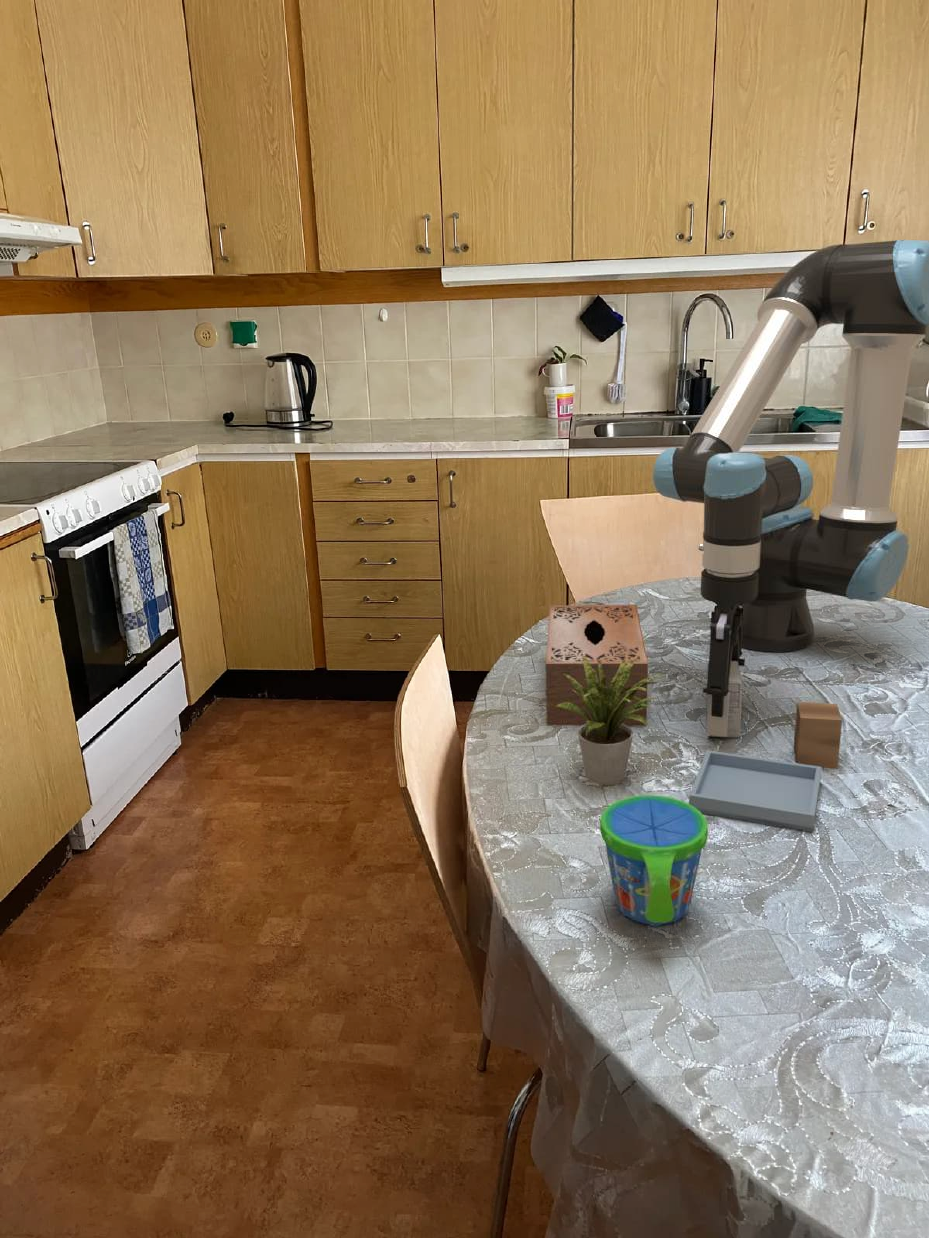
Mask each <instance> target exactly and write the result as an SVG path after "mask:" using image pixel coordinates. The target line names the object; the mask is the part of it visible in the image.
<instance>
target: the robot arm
mask: <svg viewBox="0 0 929 1238" xmlns="http://www.w3.org/2000/svg"><path fill="white" fill-rule="evenodd" d="M756 314H757V316H756V317H757V321H758V322H757V323H756V325H755V327H754V329H753V330H752V332H751V333H750V335H749V337H748V338H747V340H746V342H745V344H744V345H743V347H742V348H741V350H740V351H739V354H738V355H737V357H736V358H735V360H734V362H733V364H732V365H731V367H730V368H729V370H728V372H727V374H726V375H725V377H724V379H722V382H721V384H720V385H719V387H718V389H717V390H716V392H715V393H714V396H713V398H712V399H711V400H710V402H709V404H708V405H707V407H706V408H705V411H704V412H703V413H702V415H701V416H700V419H699V421H698V422H697V423H696V425H695V427H694V428H693V431H692V432H691V434H690V435H689V437H688V438H687V440H686V441H685V443H684V445H683V446H682V448H681V447H670V448H669V447H668V448H666V449H665V450H663V451H662V452H661V453H660V454H658V456H657V458H656V460H655V462H654V466H653V469H652V470H653V471H652V481H653V486H654V487H655V489H656V491H657V493H659V494H660V495H661V497H666V498H668V499H672V500H677V501H680V502H684V503H685V502H692V503H698V504H699V503H700V504H703V533H702V543H699V544H698V546H697V549H698V550H699V551H701V552H703V554H702V557H701V559H702V560H701V561H702V562H701V563H702V564H701V566H702V567H703V568H704V569H702V571H701V572H700V595H701V598H703V599H704V600H705V601H708V602H712V603H714V604H715V606H714V607H713V611H711V615H710V626H709V629H710V635H709V636H710V638H709V639H710V641H709V653H708V656H709V657H708V661H709V665H708V664H707V669H708V678H707V677H706V688H705V687H703V688H702V693H703V694H704V693H705V694H706V695H707V694H709V695H708V717H707V716H706V722H707V723H706V735H707V736H708V735H714V736H722V737H721V738H728V737H727V733H728V714H729V695H730V692H729V689H728V686H729V676H730V667H731V661H737V662H738V663H739V667H745V666H746V665H745V663H746V659H745V658H742V655H743V651H742V650H743V649H742V648H744V649H748V650H753V651H761V652H773V653H775V652H776V653H779V652H780V653H782V652H791V651H793V652H794V651H798V650H801V649H804V648H807V647H809V646H810V645H811V644H813V642H814V637H815V636H814V635H815V626H814V623H813V617H812V614H811V610H810V607H809V603H808V600H807V599H808V598H807V590H809V591H815V592H818V593H819V592H820V593H824V594H829V595H833V596H837V597H838V596H839V597H842V598H843V597H844V598H846V599H847V600H848V599H849V600H850V601H851V600H852V601H853V600H860V601H864V602H865V601H867V602H877V601H878V600H881V599H883V598H884V597H886V596H887V595H889V593H890V592H891V591H892V589H893V588H894V587H895V586H896V584H897V582H898V580H900V579H899V578H900V577H901V575H902V573H903V570H904V567H905V565H906V561H907V558H908V553H909V544H908V541H909V539H908V536H907V535H906V534H905V533H903V532H902V530H901V531H900V530H898V529H897V527H898V521H899V520H898V516H897V515H896V514H895V512H893V510H892V509H891V507H890V503H891V502H890V501H891V495H892V488H893V482H894V475H895V469H896V467H895V466H896V461H897V455H898V447H899V441H900V434H901V427H902V420H903V412H904V408H905V407H904V406H905V400H906V394H907V393H906V392H907V386H908V380H909V372H910V367H911V358H912V352H913V348H914V347H915V346H916V345H918V343H920V342H921V341H922V340H924V339H925V338H926V332H927V326H928V325H929V240H922V239H921V240H917V239H913V240H912V239H898V240H887V241H875V242H863V243H853V244H852V243H850V244H845V243H840V244H833V245H829V246H826V247H823V248H820V249H819V250H817V251H814V252H812V253H811V254H808V256H806V257H804V258H803V259H801V260H800V261H798V262H797V264H795V265H794V266H792V267H791V268H790V269H788V271H787V272H785V274H783V275H782V277H781V278H779V280H778V281H777V282H776V283H775V284H774V285H773V287H771V289H770V291H768V293H767V294H766V296H765V298H764V299H763V301H762V302H761V304H760V305H759V307H758V310H757V313H756ZM831 324H832V325H843V326H842V334H841V336H842V338H843V339H844V340H845V341H846V343H847V344H848V345H849V347H850V353H849V361H848V370H847V377H846V383H845V392H844V401H843V408H842V415H841V423H840V431H839V439H838V445H837V453H836V461H835V468H834V475H833V477H834V478H833V483H832V484H833V485H832V491H831V501H830V502H829V504H827V505H826V506H825V507H824V508H822V509H821V510H820V511H819V515H818V519H815V518H814V517H815V516H814V515H815V514H814V511H813V508H811V507H808V506H804V505H803V506H802V505H801V504H803V503H804V502H805V501H806V500H807V499H808V498H809V497H810V495H811V493H812V491H813V488H814V475H813V472H812V469H811V467H810V466H809V464H808V463H807V462H806V461H805V460H804V459H802V458H801V457H799V456H797V455H795V454H794V455H793V454H785V455H783V454H779V455H775V456H773V457H763V456H761V454H757V453H752V452H740V450H741V448H742V447H743V445H744V444H745V442H746V440H747V438H748V437H749V435H750V433H751V431H753V428H754V427H755V424H756V423H757V421H758V419H759V418H760V417H761V415H762V413H763V411H764V409H765V407H766V406H767V405H768V402H769V401H770V398H772V396H773V394H774V392H775V391H776V389H777V387H778V386H779V383H780V382H781V380H782V379H783V376H784V375H785V374H786V371H787V370H788V368H789V367H790V365H791V363H792V361H793V360H794V358H795V356H796V355H797V353H798V351H799V350H800V348H801V346H802V345H803V344H807V343H808V342H810V341H811V340H812V339H813V338H814V336H815V335H816V333H818V332H817V331H818V330H819V329H821V328H822V327H824V326H827V325H831Z"/></svg>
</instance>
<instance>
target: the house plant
mask: <svg viewBox="0 0 929 1238" xmlns="http://www.w3.org/2000/svg"><path fill="white" fill-rule="evenodd" d="M634 661H635V660H633V661H631V662H630V663H628V664H627V665H626V666H625V658H624V659H623V661H622V663H621V664H620V666H619V668H618V670H617V672H616V674H615V676H614V677H613V679H612V681H611V684H610V686H609V689H608V692H607V682H606V677H605V674H604V671H603V668H602V664H601V662H600V660H599V658H598V668H599V679H600V686H599V683H598V678H597V674H596V672H595V670H594V669H593V668H592V666H591V665H590V663H589V661H588V660H587V659H586V658H585V657H583V665H584V670H585V675H586V679H585V680H587V689H588V693H586V691H585V690H584V688H583V687H582V686H581V685H580V684H579V683H578V682H577V681H576V680H575V679H574V678H572V677H571V676H569V675H566V674H564V673H563V674H564V675H565V676H566V677H567V678H568V679H569V680H570V681H571V682H572V684H573V685H574V686H575V688H576V689H577V690H578V691H579V692H580V694H581V695H582V697H583V698H582V697H581V696H580V695H579V694H578V693H577V692H576V691H574V690H573V691H574V692H576V693H577V694H578V695H579V696H580V697H581V698H582V699H583V702H584V704H585V706H586V707H587V709H588V711H589V712H590V715H591V717H592V720H593V721H592V720H591V719H590V717H589V716H588V715H587V713H586V712H585V711H584V710H582V709H581V708H580V707H578V706H576V705H575V704H573V703H570V702H563V703H560V704H558V705H557V706H558V707H561V708H565V709H569V710H572V711H575V712H578V713H580V714H581V715H582V716H584V717H585V718H586V719H587V720H588V721H586V723H587V724H584V725H580V727H579V728H578V730H577V736H578V740H579V741H578V742H579V746H580V751H581V756H582V762H583V767H584V773H585V776H586V778H587V780H588V782H589V781H590V782H591V783H594V784H598V785H604V786H611V785H616V784H619V783H620V782H622V781H624V780H625V777H626V774H627V773H626V772H627V768H628V763H629V757H630V752H631V747H632V741H633V736H634V731H633V729H632V727H631V728H630V727H629V726H627V724H629V723H630V722H629V723H627V724H626V725H625V724H622V722H623V721H624V720H625V719H626V718H631V719H634V720H637V721H640V722H642V723H644V724H645V725H647V726H646V727H649V725H648V721H647V722H646V720H645V719H644V718H643V717H642V716H640V715H636V714H631V713H633V712H635V711H638V710H641V709H643V708H646V707H647V708H651V706H650V705H648V704H647V705H646V704H644V703H643V702H645V701H647V702H648V701H649V700H653V699H656V698H657V697H655V696H654V697H647V698H645V699H641V700H640V698H639V697H635V696H633V695H634V694H635V693H636V692H637V691H638V690H645V691H647V692H651V691H650V690H649V689H648V688H647V689H645V688H643V687H644V686H645V685H647V686H649V685H653V684H657V683H658V681H650V680H653V679H654V678H657V677H661V676H662V677H663V676H664V675H667V674H668V673H660V674H654V675H651V676H648V677H647V678H645V679H643V680H641V681H639V682H638V683H636V684H635V685H633V686H631V687H628V688H625V689H623V687H624V685H625V683H626V682H627V680H628V678H629V672H630V669H631V667H632V666H633V664H634ZM624 666H625V667H624ZM647 681H648V682H647ZM622 689H623V690H622ZM625 692H626V693H625ZM624 693H625V694H624ZM622 694H624V695H623V697H622V698H621V699H620V700H619V701H618V703H617V700H618V698H619V697H620V696H621V695H622ZM629 694H630V695H629ZM628 695H629V697H627V696H628ZM589 696H590V697H589ZM626 697H627V698H626ZM634 700H640V701H639V702H637V703H635V704H633V705H631V706H629V707H628V708H626V709H625V710H624V711H623V712H622V710H623V709H624V707H625V706H626V704H627V703H629V702H632V701H634ZM616 703H617V704H616ZM632 703H633V702H632ZM645 703H646V702H645ZM621 712H622V713H621ZM620 713H621V714H620ZM618 716H619V717H618ZM634 720H633V721H634Z"/></svg>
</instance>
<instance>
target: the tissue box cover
mask: <svg viewBox="0 0 929 1238" xmlns="http://www.w3.org/2000/svg"><path fill="white" fill-rule="evenodd" d="M638 611H639V610H638V605H637V604H593V605H591V604H587V605H586V604H582V605H581V604H580V605H579V604H578V605H577V604H574V605H571V604H570V605H569V604H568V605H567V604H566V605H561V604H560V605H549V616H548V627H547V641H546V654H545V655H546V657H545V687H546V688H545V694H546V697H545V698H546V726H583V725H584V724H587V723H586V721H588V720H587V719H586V718H585V717H584V716H582V715H581V714H580V713H578V712H575V711H572V710H569V709H565V708H561V707H558V706H557V705H558V704H560V703H563V702H570V703H573V704H575V705H576V706H578V707H580V708H581V709H582V710H584V711H585V712H586V713H587V715H588V716H589V717H590V719H591V720H592V717H591V715H590V712H589V711H588V709H587V707H586V706H585V704H584V702H583V699H582V698H583V697H582V695H581V694H580V692H579V691H578V690H577V689H576V688H575V686H574V685H573V684H572V682H571V681H570V680H569V679H568V678H567V677H566V676H565V675H564V674H566V675H569V676H571V677H572V678H574V679H575V680H576V681H577V682H578V683H579V684H580V685H581V686H582V687H583V688H584V690H585V691H586V693H588V689H587V680H585V679H586V675H585V670H584V665H583V657H585V658H586V659H587V660H588V661H589V663H590V665H591V666H592V668H593V669H594V670H595V672H596V674H597V678H598V683H599V686H600V679H599V668H598V658H599V660H600V662H601V664H602V668H603V671H604V674H605V677H606V682H607V692H608V689H609V686H610V684H611V681H612V679H613V677H614V676H615V674H616V672H617V670H618V668H619V666H620V664H621V663H622V661H623V659H624V658H625V666H626V665H627V664H628V663H630V662H631V661H633V660H635V661H634V664H633V666H632V667H631V669H630V672H629V678H628V680H627V682H626V683H625V685H624V687H623V689H625V688H628V687H631V686H633V685H635V684H636V683H638V682H639V681H641V680H643V679H645V678H647V677H649V675H648V674H649V671H648V670H649V663H648V662H649V661H648V658H647V652H646V647H645V642H644V636H643V632H642V631H643V630H642V626H641V621H640V615H639V612H638ZM625 666H624V667H625ZM563 673H564V674H563ZM647 682H649V681H647ZM643 688H645V689H647V690H648V685H645V686H644V687H643ZM623 689H622V690H623ZM573 690H574V691H576V692H577V693H578V694H579V695H580V696H581V697H582V698H581V697H580V696H579V695H578V694H577V693H576V692H574V691H573ZM625 693H626V692H625ZM625 693H624V694H625ZM624 694H622V695H621V696H620V697H619V698H618V700H617V703H618V701H619V700H620V699H621V698H622V697H623V695H624ZM629 695H630V694H629ZM629 695H628V696H627V697H629ZM633 696H635V697H639V698H640V700H641V699H645V698H648V691H645V690H638V691H637V692H636V693H635V694H634V695H633ZM589 697H590V696H589ZM627 697H626V698H627ZM640 700H634V701H632V702H633V703H632V702H629V703H627V704H626V706H625V707H624V709H623V710H622V712H623V711H624V710H625V709H626V708H628V707H629V706H631V705H633V704H635V703H637V702H639V701H640ZM645 702H646V703H645ZM645 702H643V703H644V704H646V705H648V700H647V701H645ZM617 703H616V704H617ZM622 712H621V713H622ZM621 713H620V714H621ZM631 714H636V715H640V716H642V717H643V718H644V719H645V720H646V722H647V723H648V717H647V715H648V707H646V708H643V709H641V710H638V711H635V712H633V713H631ZM618 717H619V716H618ZM633 720H634V719H631V718H626V719H625V720H624V721H623V722H622V724H625V725H626V724H627V723H629V722H630V723H629V724H627V726H628V727H629V726H633V727H635V726H636V727H637V726H639V727H640V726H641V727H642V726H644V727H648V726H647V725H645V724H644V723H642V722H640V721H637V720H634V721H633ZM592 721H593V720H592Z"/></svg>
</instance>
